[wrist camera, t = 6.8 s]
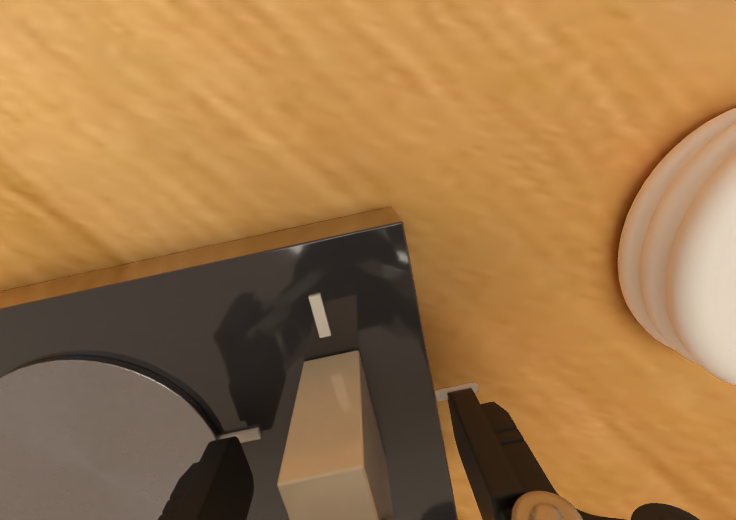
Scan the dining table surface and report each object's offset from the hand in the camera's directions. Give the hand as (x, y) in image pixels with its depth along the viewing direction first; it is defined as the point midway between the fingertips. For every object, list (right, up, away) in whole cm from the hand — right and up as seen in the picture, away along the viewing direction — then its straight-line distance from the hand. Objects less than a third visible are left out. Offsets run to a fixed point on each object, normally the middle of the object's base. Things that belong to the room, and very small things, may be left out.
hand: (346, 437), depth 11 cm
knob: (0, 0, +1) cm, 1 cm away
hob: (-5, 0, +4) cm, 6 cm away
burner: (-8, -1, +1) cm, 9 cm away
